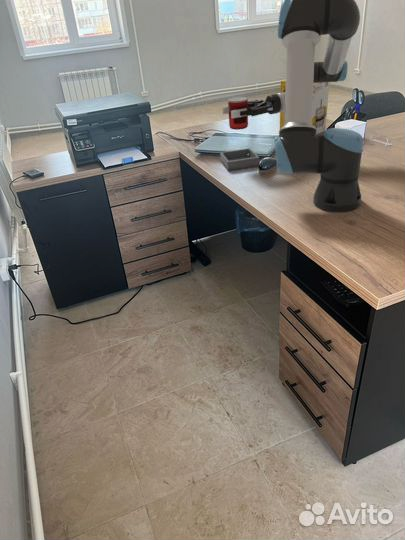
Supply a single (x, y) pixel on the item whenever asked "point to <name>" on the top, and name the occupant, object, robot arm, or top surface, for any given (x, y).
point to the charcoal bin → (239, 159)
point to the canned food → (238, 104)
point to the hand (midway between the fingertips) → (227, 112)
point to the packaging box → (314, 105)
